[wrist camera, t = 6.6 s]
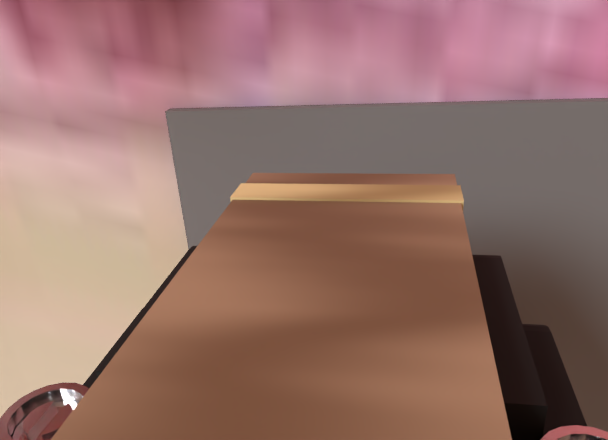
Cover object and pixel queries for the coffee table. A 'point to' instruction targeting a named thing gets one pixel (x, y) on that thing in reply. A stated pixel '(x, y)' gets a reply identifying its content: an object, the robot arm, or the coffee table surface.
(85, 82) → the coffee table surface
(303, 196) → the block
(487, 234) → the mat
